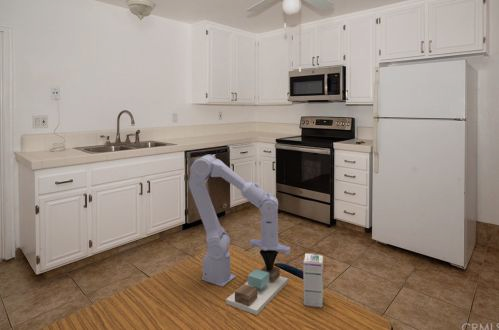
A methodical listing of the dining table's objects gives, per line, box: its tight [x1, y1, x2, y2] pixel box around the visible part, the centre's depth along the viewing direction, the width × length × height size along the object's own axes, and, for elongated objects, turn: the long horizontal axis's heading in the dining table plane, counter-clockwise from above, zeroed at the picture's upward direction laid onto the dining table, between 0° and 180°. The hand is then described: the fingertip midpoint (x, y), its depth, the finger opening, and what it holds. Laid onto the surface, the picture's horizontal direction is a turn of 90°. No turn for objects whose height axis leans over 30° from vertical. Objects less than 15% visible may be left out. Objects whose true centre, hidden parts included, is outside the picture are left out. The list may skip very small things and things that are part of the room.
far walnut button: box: [260, 265, 281, 283], centre depth 110 cm, size 5×5×3 cm
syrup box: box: [302, 253, 324, 308], centre depth 98 cm, size 6×6×14 cm
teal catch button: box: [247, 268, 269, 289], centre depth 104 cm, size 5×5×3 cm
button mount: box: [225, 275, 289, 316], centre depth 104 cm, size 11×21×4 cm, turn 148°
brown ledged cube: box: [234, 283, 257, 306], centre depth 98 cm, size 5×5×3 cm
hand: (269, 269), depth 110 cm, fingers closed, pressing on far walnut button
